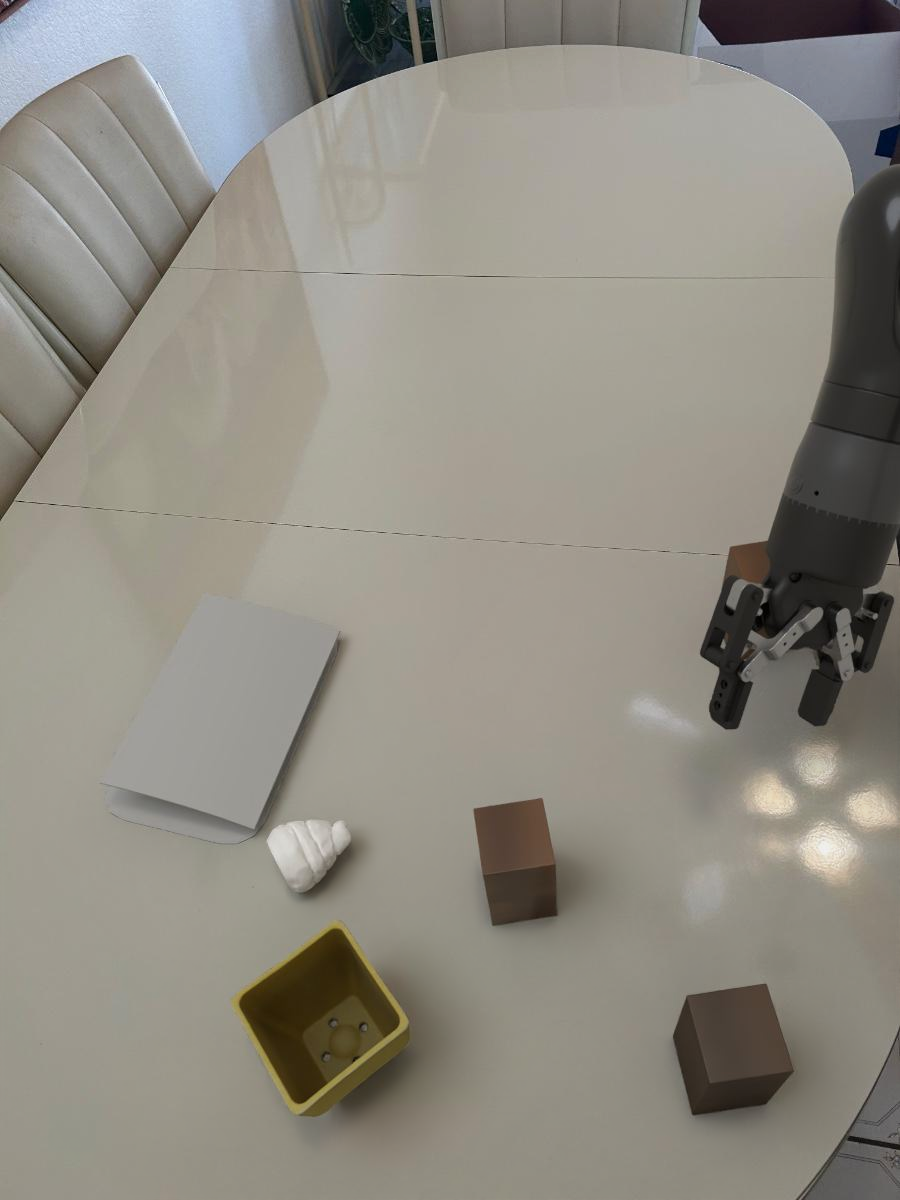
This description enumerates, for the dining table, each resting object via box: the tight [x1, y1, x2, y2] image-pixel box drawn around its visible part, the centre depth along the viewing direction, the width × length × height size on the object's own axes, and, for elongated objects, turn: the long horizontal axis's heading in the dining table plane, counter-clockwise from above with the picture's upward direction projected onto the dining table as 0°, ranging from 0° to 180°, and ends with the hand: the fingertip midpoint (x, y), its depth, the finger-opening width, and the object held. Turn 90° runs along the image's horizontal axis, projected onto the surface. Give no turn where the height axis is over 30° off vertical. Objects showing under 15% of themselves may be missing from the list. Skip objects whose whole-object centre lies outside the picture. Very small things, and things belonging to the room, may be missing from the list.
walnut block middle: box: [473, 797, 558, 926], centre depth 69 cm, size 5×5×10 cm
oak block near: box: [672, 983, 795, 1116], centre depth 60 cm, size 5×5×10 cm
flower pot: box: [230, 919, 411, 1118], centre depth 63 cm, size 9×9×9 cm
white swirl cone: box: [266, 818, 352, 894], centre depth 74 cm, size 6×6×5 cm
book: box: [98, 592, 341, 845], centre depth 84 cm, size 15×23×4 cm, turn 164°
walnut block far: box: [720, 540, 788, 660], centre depth 81 cm, size 5×5×10 cm
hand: (768, 722), depth 66 cm, fingers open, 8 cm apart
